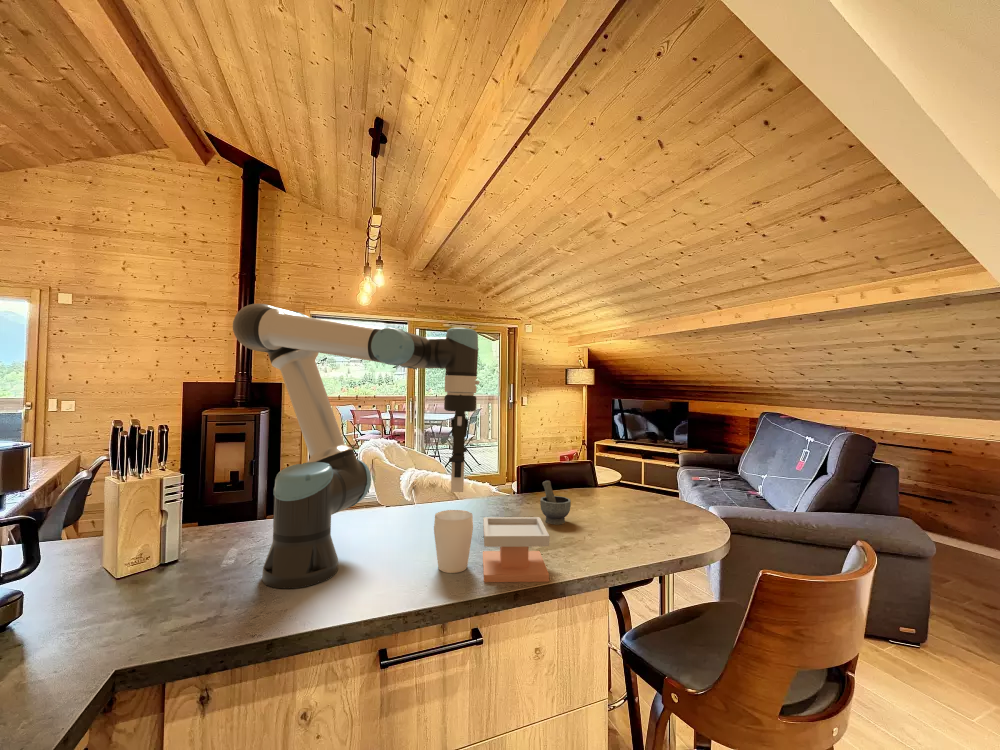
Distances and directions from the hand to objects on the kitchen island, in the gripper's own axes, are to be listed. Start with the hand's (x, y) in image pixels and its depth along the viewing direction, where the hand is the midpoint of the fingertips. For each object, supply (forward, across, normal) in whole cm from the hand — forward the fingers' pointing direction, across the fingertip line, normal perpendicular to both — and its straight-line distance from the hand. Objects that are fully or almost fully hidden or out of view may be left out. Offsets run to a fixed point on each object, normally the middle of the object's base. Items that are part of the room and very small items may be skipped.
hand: (457, 485), depth 103 cm
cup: (+19, -1, 0) cm, 19 cm away
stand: (+18, -2, -14) cm, 23 cm away
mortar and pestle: (+18, +34, -30) cm, 49 cm away
